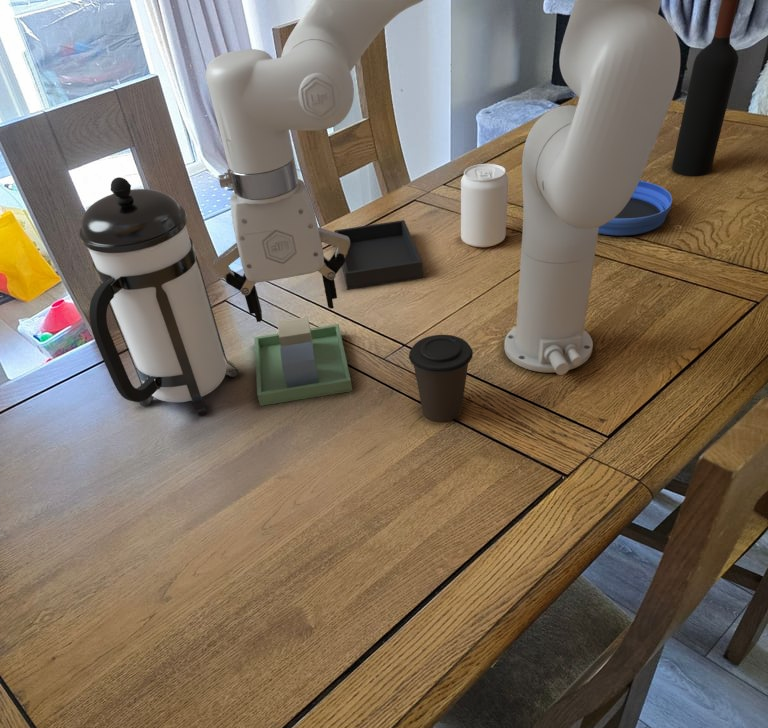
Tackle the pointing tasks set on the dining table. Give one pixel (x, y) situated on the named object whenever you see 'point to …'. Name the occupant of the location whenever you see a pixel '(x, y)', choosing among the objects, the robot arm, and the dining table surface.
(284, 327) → the cream block
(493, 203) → the beverage can
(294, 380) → the bluegrey block
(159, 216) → the coffee press
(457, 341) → the coffee cup
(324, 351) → the dish
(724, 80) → the wine bottle
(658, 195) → the bowl
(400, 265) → the black tray
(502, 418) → the dining table surface
